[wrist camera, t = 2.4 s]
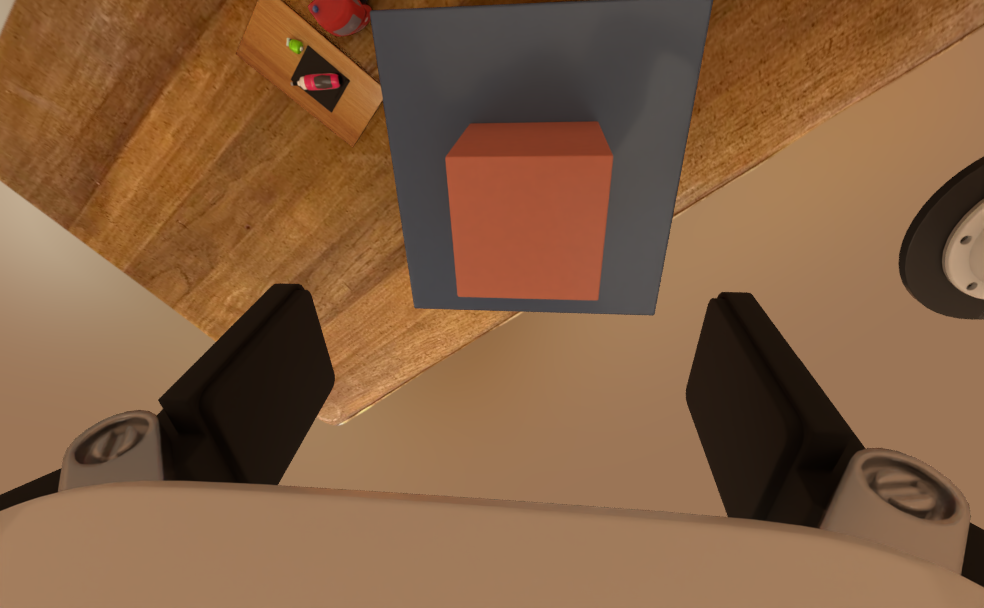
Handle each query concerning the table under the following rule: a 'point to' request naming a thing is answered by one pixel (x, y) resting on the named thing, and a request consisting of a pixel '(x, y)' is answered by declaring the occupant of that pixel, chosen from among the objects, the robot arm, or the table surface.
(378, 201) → the table surface
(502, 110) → the shelf
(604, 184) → the toy block
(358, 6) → the toy fire truck
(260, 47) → the board
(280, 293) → the robot arm
